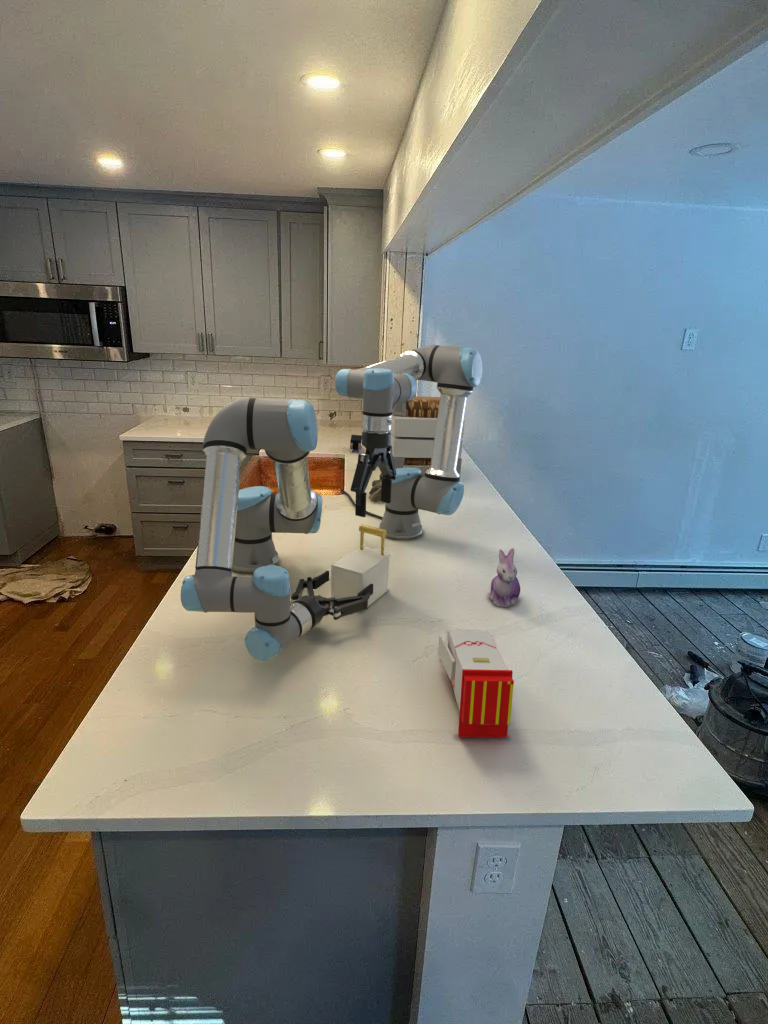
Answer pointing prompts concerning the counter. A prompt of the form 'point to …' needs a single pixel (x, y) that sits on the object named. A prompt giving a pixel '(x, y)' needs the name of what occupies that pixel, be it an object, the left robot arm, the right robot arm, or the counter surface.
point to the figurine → (505, 581)
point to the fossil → (376, 489)
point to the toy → (478, 682)
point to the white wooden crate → (416, 432)
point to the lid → (363, 554)
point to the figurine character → (355, 442)
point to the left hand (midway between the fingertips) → (349, 581)
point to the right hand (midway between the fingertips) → (373, 509)
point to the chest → (360, 582)
